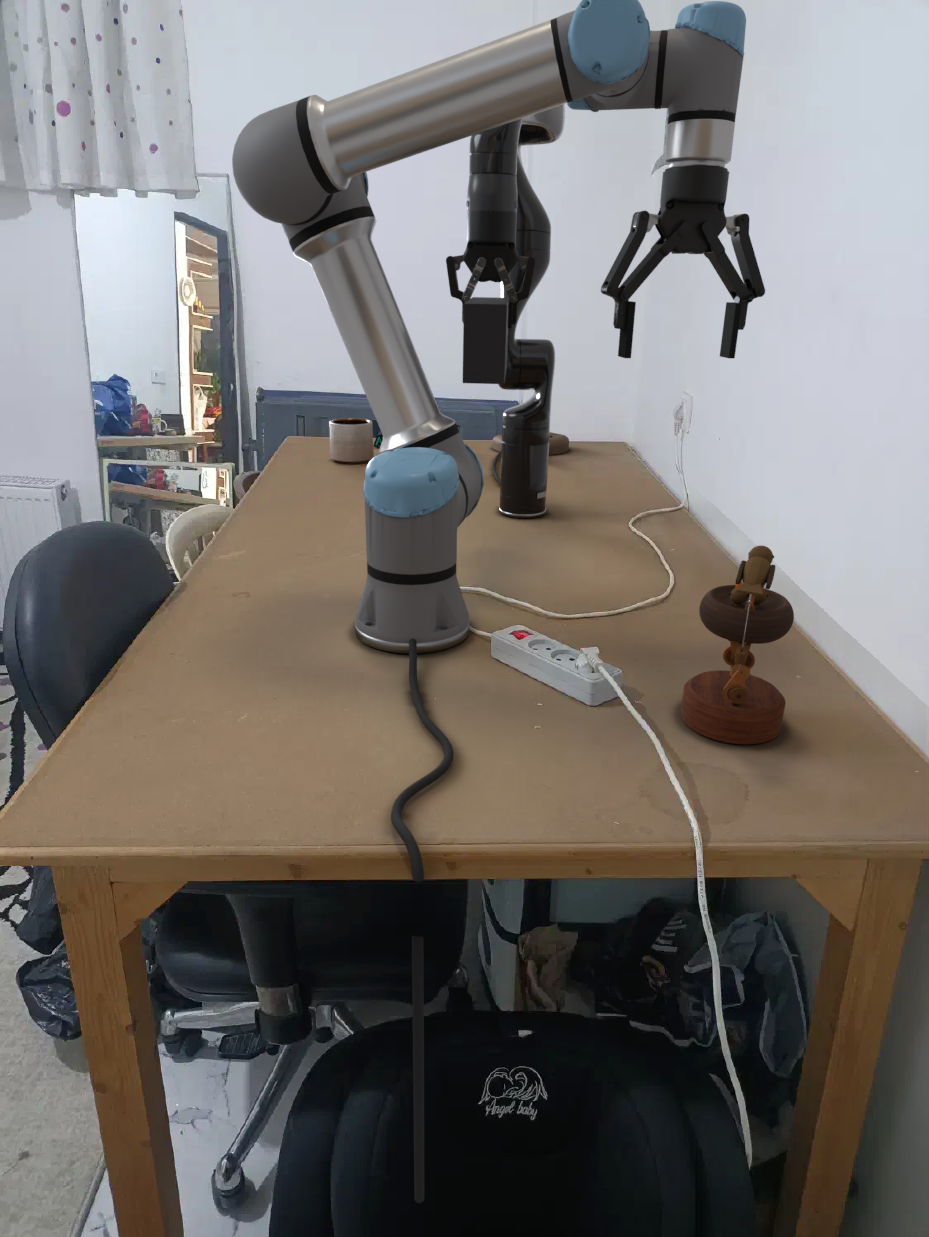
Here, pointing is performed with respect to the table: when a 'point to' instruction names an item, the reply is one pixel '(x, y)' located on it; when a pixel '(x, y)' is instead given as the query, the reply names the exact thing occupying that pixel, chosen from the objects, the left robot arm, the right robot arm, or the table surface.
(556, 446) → the brown flat rounded piece
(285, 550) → the table surface
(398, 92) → the left robot arm
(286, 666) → the table surface
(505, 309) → the box
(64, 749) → the table surface
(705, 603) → the music box
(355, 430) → the planter
